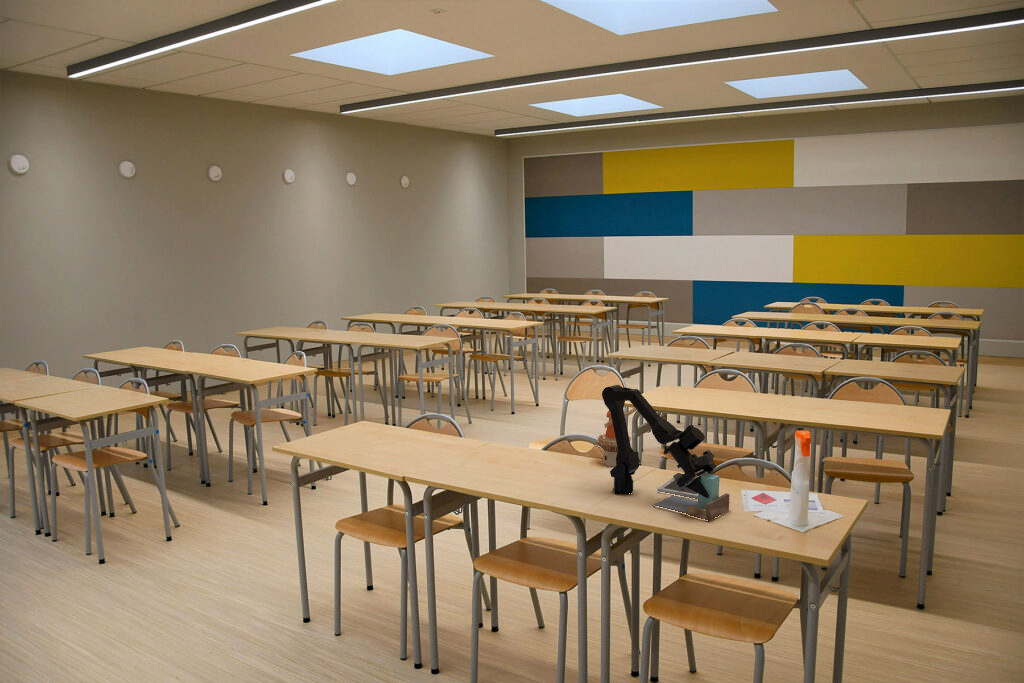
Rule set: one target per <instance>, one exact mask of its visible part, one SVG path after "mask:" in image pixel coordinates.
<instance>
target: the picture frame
mask: <svg viewBox="0 0 1024 683" xmlns="http://www.w3.org/2000/svg"><path fill="white" fill-rule="evenodd" d="M683 474H684V473H682V474H681V473H680V472H677V473H675V474H674V475H673V476H672V478H670V479H669V480H668V481H666V482H665V483H663V484H662V485H660V486H659V487H658V488H657V491H659V492H665V493H670V494H675V495H680V496H684V497H689V498H695V499H698V493H697V492H695V491H693V490H691V489H689V488H686V486H687V485H688V484H687V483H686V484H685V486H684V487H682V488H679V487H678V485H677V484H676V483H677V479H678V478H680V477H681V476H682V475H683ZM684 497H683V498H684ZM689 498H688V499H689ZM695 499H694V500H695Z"/></svg>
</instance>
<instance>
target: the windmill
mask: <svg viewBox="0 0 1024 683" xmlns="http://www.w3.org/2000/svg"><path fill="white" fill-rule="evenodd" d="M635 412H638V411H637V409H636V408H635V407H634V406H633V408H631V409H630V410H629V411H627V412H624V415H625V417H627V418H628V417H629V416H630V415H632V414H634V413H635ZM606 418H608V421H607V422H606V423H604V424H603V426H604V428H605V429H606V430H605V434H600V435H599V436H598V437H597V440H598V443H599V444H601V445H602V447H603V458H602V460H603V461H602V465H603V466H605V467H609V468H614V467H615V466H616V455H617V451H618V448H617V443H616V438H615V433H614V428H613V423H612V418H611V413H610V410H609V409H608V411H607V412H606ZM629 440H630V441H631V440H632V437H631V436H629Z"/></svg>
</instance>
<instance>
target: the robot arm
mask: <svg viewBox="0 0 1024 683" xmlns="http://www.w3.org/2000/svg"><path fill="white" fill-rule="evenodd" d="M601 397H602V400H603V403H604V405H605V407H606V408H607V409H608V411H609V410H610V413H611V418H612V423H613V428H614V433H615V438H616V443H617V448H618V451H617V455H616V466H615V467H612V469H610V470H609V473H610V476H611V478H613V487H612V491H613V494H614V493H615V494H614V495H628V494H629V493H630V494H631V493H632V494H633V492H634V479H633V477H632V476H633V475H635V474H636V471H637V470H638V469H639V467H640V463H641V459H640V458H639V451H638V450H636V451H634V449H633V447H632V444H631V440H629V437H630V435H629V431H628V425H627V420H626V416H625V415H624V414H625V411H624V410H625V409H624V407H625V403H626V401H629V402H630V403H631V405H632V406H633V408H634V407H635V408H636V409H637V411H636V412H638V413H639V414H640V416H642V418H643V419H644V420H645V421H646V423H647V424H648V425H649V427H650V429H651V433H652V435H653V437H654V439H655V440H656V441H657V442H658V444H661V445H665V446H664V447H663V455H664V456H665V455H667V454H670V455H671V457H673V459H674V460H675V462H676V464H677V465H676V468H677V469H681V470H682V471H683V473H682V474H683V475H682V476H681V477H680V478H678V479H677V483H676V484H677V485H678V487H679V488H682V487H684V486H685V484H686V483H687V484H688V485H687V486H686V488H689V489H691V490H693V491H695V492H697V493H698V494H700V495H702V496H704V497H705V498H708V497H709V495H708V493H707V491H706V489H705V488H704V486H703V485H702V483H701V475H703V474H705V473H708V474H712V475H713V473H714V470H715V469H716V468H717V465H716V464H715V460H714V458H715V455H714V454H713V453H712V452H711V450H705V451H703V452H702V455H699V456H698V455H697V454H696V453H693V454H692V452H691V451H693V450H695V449H696V448H697V447H698V446H699V445H700V444H701V443H703V441H705V439H706V437H705V434H704V433H703V431H702V430H700V429H699V428H698V427H695V426H694V424H690V425H689V424H688V426H687V427H686V428H685V429H684V430H680V429H678V428H676V426H674V424H672V423H671V422H670V421H668V420H666V419H665V418H663V417H661V416H660V414H659V413H658V412H657V411H656V410H655V409H654V407H653V406H652V405H651V403H649V402H648V400H647V399H646V398H645V396H644V395H643V394H642V392H641V391H640V389H638V388H631V387H623V386H622V385H619V384H614V385H610V386H606V387H604V388H603V390H602V391H601ZM669 443H670V444H669ZM667 444H669V445H667Z"/></svg>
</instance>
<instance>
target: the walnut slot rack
mask: <svg viewBox="0 0 1024 683" xmlns="http://www.w3.org/2000/svg"><path fill="white" fill-rule="evenodd" d="M727 511H728V512H729V511H730V493H728V492H727V493H724V494H722V495H720V496H719V497H718V498H716V499H714V500H712V501H711V502H709V503H707V504H706V510H705V509H701V508H697V507H693V506H688V515H690V516H694V517H697V518H701V519H705V520H708V521H710V520H712V519H714V518H715V517H717V518H719V517H720V516H719V515H721V516H723V515H724V514H726V513H728V512H727ZM725 512H726V513H725ZM723 513H724V514H723ZM722 514H723V515H722ZM718 516H719V517H718ZM714 520H715V519H714ZM712 521H713V520H712ZM710 522H711V521H710Z"/></svg>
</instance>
